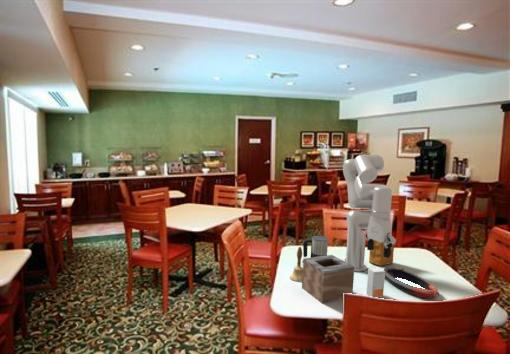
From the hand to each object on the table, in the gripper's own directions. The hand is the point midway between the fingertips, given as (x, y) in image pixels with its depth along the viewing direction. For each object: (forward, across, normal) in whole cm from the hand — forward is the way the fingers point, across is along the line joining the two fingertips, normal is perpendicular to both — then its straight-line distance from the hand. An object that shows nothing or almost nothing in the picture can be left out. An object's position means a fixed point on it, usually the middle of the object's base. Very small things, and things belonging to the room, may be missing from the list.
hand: (378, 253), depth 148 cm
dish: (+20, -1, +22) cm, 30 cm away
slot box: (+20, -10, -19) cm, 29 cm away
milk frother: (+20, -40, -5) cm, 45 cm away
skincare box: (+20, 0, 0) cm, 20 cm away
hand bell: (+20, -28, -23) cm, 41 cm away
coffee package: (+20, -30, +33) cm, 49 cm away
